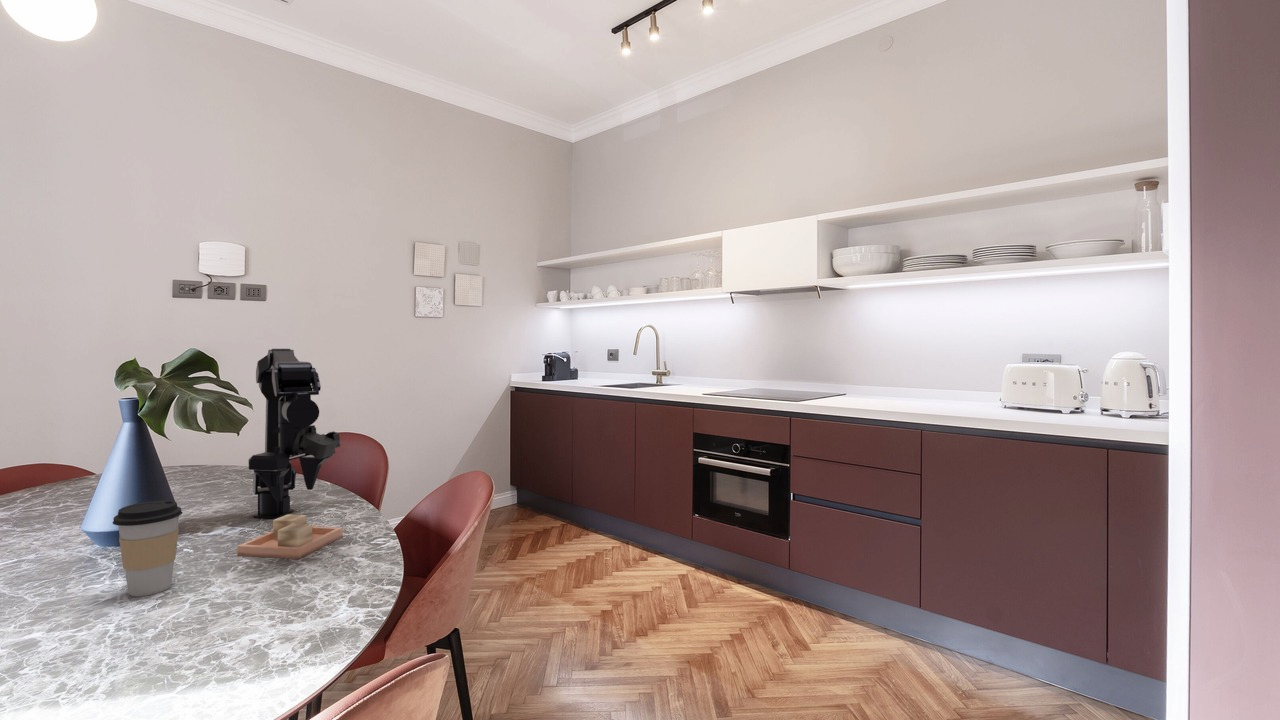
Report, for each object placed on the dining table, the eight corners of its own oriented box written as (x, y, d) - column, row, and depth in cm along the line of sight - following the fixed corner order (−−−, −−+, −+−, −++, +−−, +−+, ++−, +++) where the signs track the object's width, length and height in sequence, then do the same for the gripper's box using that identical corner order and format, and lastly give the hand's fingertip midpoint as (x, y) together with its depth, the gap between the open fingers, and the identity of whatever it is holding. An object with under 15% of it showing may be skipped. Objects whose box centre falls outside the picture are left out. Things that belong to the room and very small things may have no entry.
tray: (237, 555, 119) (237, 546, 119) (286, 533, 133) (286, 525, 133) (299, 559, 117) (299, 549, 117) (342, 536, 131) (342, 527, 131)
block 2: (277, 551, 120) (277, 530, 119) (292, 544, 124) (292, 523, 124) (298, 552, 119) (297, 531, 119) (312, 545, 124) (312, 524, 123)
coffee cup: (196, 580, 106) (195, 500, 106) (148, 602, 97) (147, 515, 97) (150, 577, 107) (149, 498, 107) (98, 599, 98) (96, 513, 97)
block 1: (273, 540, 126) (273, 520, 126) (288, 533, 131) (288, 514, 131) (292, 541, 126) (291, 521, 126) (306, 534, 130) (306, 515, 130)
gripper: (298, 429, 111) (298, 509, 111) (356, 417, 129) (357, 485, 130) (245, 427, 112) (246, 506, 112) (311, 416, 130) (311, 484, 131)
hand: (295, 495), depth 121 cm, fingers open, 9 cm apart
